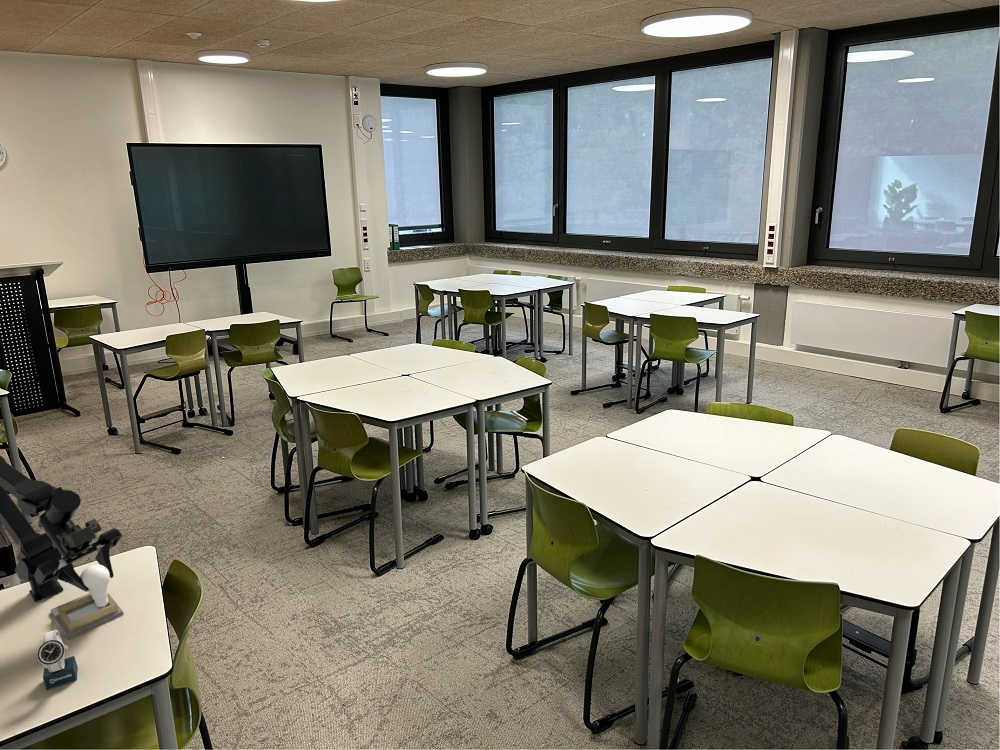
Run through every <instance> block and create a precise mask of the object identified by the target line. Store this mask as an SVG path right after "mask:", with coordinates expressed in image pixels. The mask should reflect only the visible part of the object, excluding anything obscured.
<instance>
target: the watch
mask: <svg viewBox="0 0 1000 750" xmlns="http://www.w3.org/2000/svg"><path fill="white" fill-rule="evenodd" d="M39 642H40V643H39V646H38V649H37V652H36V659H37V660H38V661H39V662H40V663H41V665H42V666H43V674H42V680H43V684H44V686H45V688H46V689H45V690H50V689H54V688H56V687H59V686H62V685H66V684H69V683H71V682H75V681H78V672H79V671H78V670H79V666H78V663H77V660H76V655H73V656H69V657H66V658H65V656H66V654H65V653H66V650H68V649H69V648H68V645H67V644H66V645H65V644H64V643H63V639H62V638H61V635H60V632H59V630H58V629H55V630H51V631H48V632H44V633H43V635H42V640H40V641H39Z"/></svg>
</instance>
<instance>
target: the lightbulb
mask: <svg viewBox="0 0 1000 750" xmlns="http://www.w3.org/2000/svg"><path fill="white" fill-rule="evenodd" d="M79 576H80V578H81V579H82V580H83V583H84V584H85V586H86V587H88V589H89V590H88V591H87V592H88V594H89V593H90V594H91V596H92V598H93V600H95V603H96V605H97V606H98V607H104V606H105V605H106V604H107V603H108V598H107V595H108V593H109V592H108V585H109V582H110V579H111V578H110V574H109V571H108V569H107V568H106V567H104V566H102V565H100V564H99V563H98V564H97V563H95V564H91V565H88V566H87V567H85V568H84V569H83V570H82V571H81V574H80V575H79ZM107 592H108V593H107Z"/></svg>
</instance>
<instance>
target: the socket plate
mask: <svg viewBox="0 0 1000 750" xmlns="http://www.w3.org/2000/svg"><path fill="white" fill-rule="evenodd" d="M107 593H108V595H107V598H108V603H107V604H106V605H105V606H104V607H98V606H97V605H96V603H95V600H93V598H92V596H91V594H90V593H89V592H88V593H87V594H84V595H81V596H80V597H77V598H75V599H72V600H70V601H68V602H64V603H63V604H60V605H58V606H55V607H54V608H51V609H50V612H51V613H50V614H51V615H52V616H53V617H55V618H54V619H55V620H56V622H57V624H58V625H59V627H60V628H61V630H62V632H63V633H64V635H65V637H66V638H67V639H68V640H69V639H71V638H74V637H76V636H79V635H81V634H83V633H85V632H87V631H90V630H92V629H94V628H96V627H98V626H101V625H102V624H105V623H107V622H109V621H112V620H114V619H116V618H118V617H120V616H123V615H124V611H123V609H122V608H121V607H120V606H119V604H118V603H117V602H116V601H115V600H114V598H113V597H112V596H111V595H110V594H109V592H108V591H107Z"/></svg>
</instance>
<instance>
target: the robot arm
mask: <svg viewBox="0 0 1000 750" xmlns="http://www.w3.org/2000/svg"><path fill="white" fill-rule="evenodd" d="M9 494H11V495H12V497H13V496H14V497H15V499H16V500H17V504H16V503H15V502H14V500H13V499H12V497H11V496H10V495H9ZM81 501H82V499H81V496H80V495H79V494H78V493H77V492H75V491H72V490H69V489H67V490H66V489H63V488H62V486H59V487H55V486H54V485H52V484H50V483H48V482H46V481H44V480H37V479H36V480H35V479H34V480H33V479H31V478H29V477H28V476H26V475H25V474H23V472H21V471H19V470H18V469H17V468H16V467H13V466H12V465H11V464H10V463H8V462H7V460H6V459H5V457H4V456H2V455H0V523H1V525H2V526H3V527H4V529H5V530H6V532H7V534H9V536H10V538H11V539H12V540H13V541H14V544H16V546H17V547H16V559H17V561H18V563H17V565H16V566H15V569H14V572H15V573H16V576H17V578H19V579H20V580H24V581H26V582H28V583H29V585H30V586H29V587H30V590H29V591H28V592H29V594H30V597H31V598H32V600H33V601H34V602H35V603H37V602H39V601H41V600H45V599H47V598H49V597H51V596H54V595H57V594H60V593H61V591H62V592H63V591H64V587H63V586H62V585H61V583H60V581H62V582H65V583H67V584H70V585H72V586H74V587H76V588H77V589H80V590H82V591H83V592H86V593H87V592H88V590H89V589H88V587H86V586H85V584H84V583H83V580H82V579H81V578H80V575H79V574H78V573H77V571H76V570H75V568H74V565H73V563H75V562H77V561H78V560H80V559H82V558H84V557H87V556H88V555H90V554H92V553H95V554H96V556H95V557H94V559H95V560H96V562H97V563H98V565H102V566H104V567H106V568H107V569H108V571H109V574H110V578H109V579H113V578H114V575H115V574H114V572H113V567H112V562H111V557H110V551H111V549H112V548H114V547H116V546H117V545H118V544H119V542H120V541H121V538H122V537H123V533H122V532H121V531H120V529H117V528H115V527H113V528H111V529H109V530H107V531H104V532H103V533H101V534H99V537H98V538H97V535H96V534H97V533H99V532H101V531H102V527H101V525H100V523H99V522H98V521H97V519H96V518H92V519H90V520H89V521H87V522H85V523H84V525H85V527H81V525H79V524H75V522H74V520H72V519H73V518H74V516H75V515H76V513H77V511H78V508H80V505H81ZM42 512H43V513H42ZM39 513H42V514H41V515H38V522H37V525H38V528H41V529H43V531H44V533H39V532H36V530H35V529H34V527H32V524H31V523H30V522H29V521H28V519H27V518H26V516H25V515H27V516H29V517H33V516H35V515H37V514H39ZM24 514H25V515H24ZM95 539H97V541H95V542H93V540H95ZM92 542H93V543H92ZM59 580H60V581H59Z"/></svg>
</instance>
